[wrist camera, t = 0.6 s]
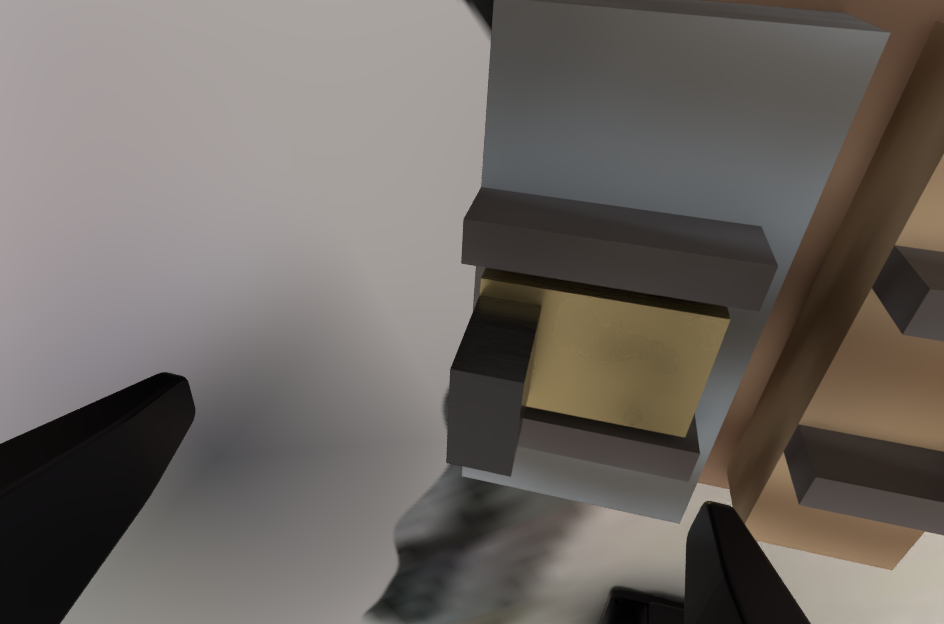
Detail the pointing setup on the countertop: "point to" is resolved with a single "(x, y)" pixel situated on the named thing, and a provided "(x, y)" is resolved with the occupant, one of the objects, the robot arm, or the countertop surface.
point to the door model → (738, 247)
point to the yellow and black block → (574, 362)
